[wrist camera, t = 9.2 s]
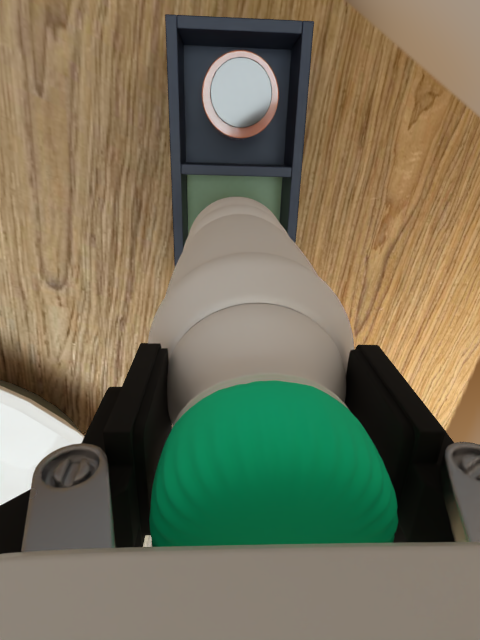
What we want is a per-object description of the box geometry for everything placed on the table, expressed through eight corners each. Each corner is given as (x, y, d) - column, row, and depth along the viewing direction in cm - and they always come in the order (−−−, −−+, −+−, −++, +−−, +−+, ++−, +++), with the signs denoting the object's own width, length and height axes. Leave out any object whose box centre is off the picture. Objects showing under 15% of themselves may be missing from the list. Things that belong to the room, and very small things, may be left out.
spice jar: (206, 72, 34) (200, 43, 24) (267, 75, 34) (284, 47, 25) (206, 139, 36) (201, 136, 26) (264, 141, 36) (278, 139, 27)
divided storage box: (181, 270, 41) (175, 289, 36) (174, 36, 33) (165, 14, 28) (282, 272, 42) (291, 290, 36) (299, 41, 34) (314, 20, 28)
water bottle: (175, 268, 30) (27, 633, 7) (209, 178, 28) (147, 312, 5) (258, 301, 32) (351, 698, 9) (298, 219, 29) (571, 470, 6)
